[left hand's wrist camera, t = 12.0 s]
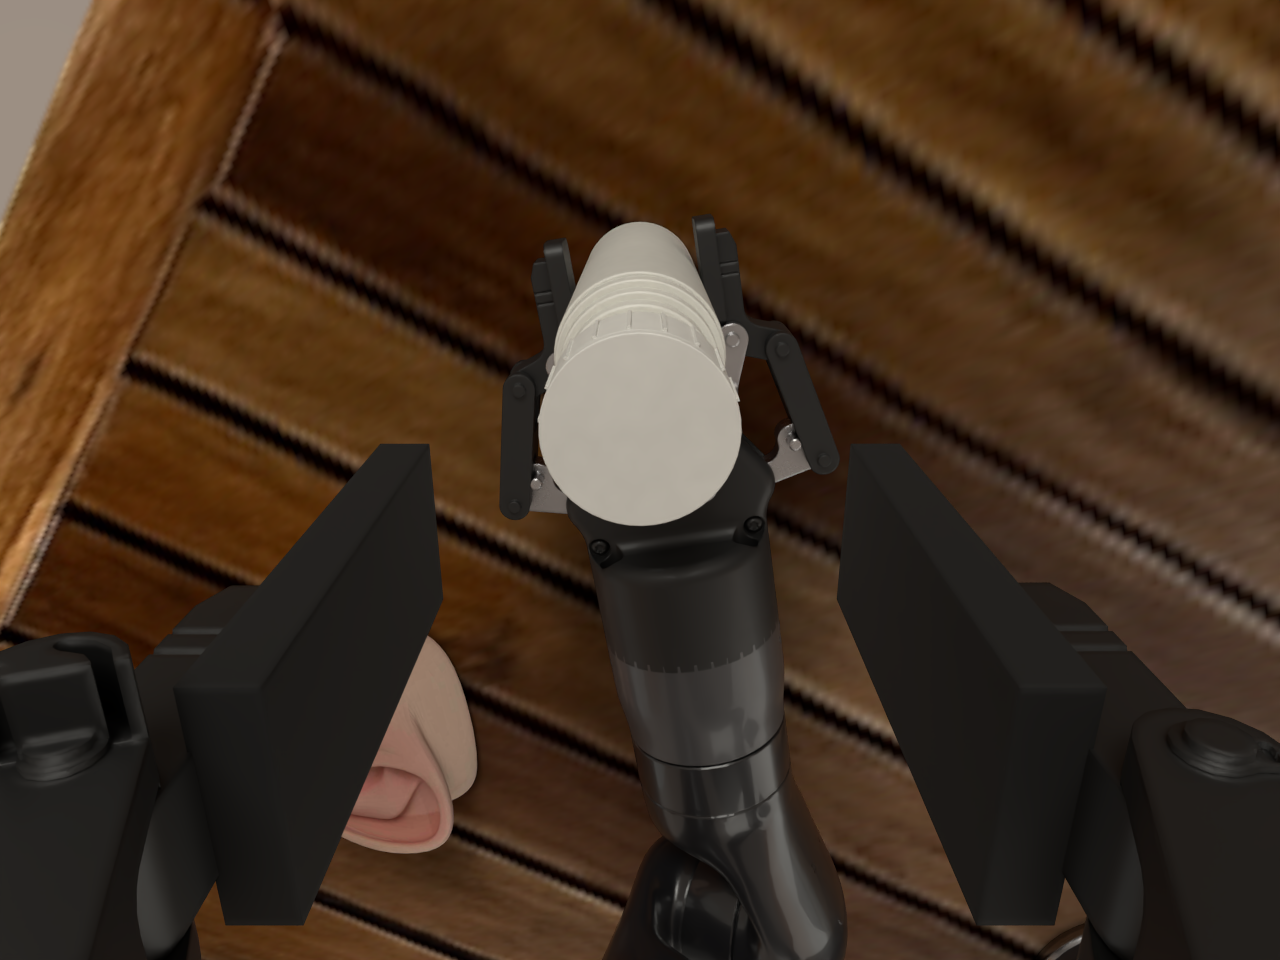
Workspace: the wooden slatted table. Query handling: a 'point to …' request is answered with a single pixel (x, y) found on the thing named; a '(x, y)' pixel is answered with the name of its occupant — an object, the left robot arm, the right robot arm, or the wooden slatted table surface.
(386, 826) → the anatomical model
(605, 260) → the bottle
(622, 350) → the cap
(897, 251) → the wooden slatted table surface
